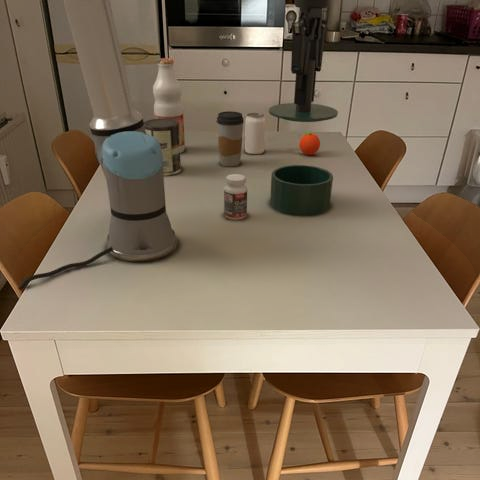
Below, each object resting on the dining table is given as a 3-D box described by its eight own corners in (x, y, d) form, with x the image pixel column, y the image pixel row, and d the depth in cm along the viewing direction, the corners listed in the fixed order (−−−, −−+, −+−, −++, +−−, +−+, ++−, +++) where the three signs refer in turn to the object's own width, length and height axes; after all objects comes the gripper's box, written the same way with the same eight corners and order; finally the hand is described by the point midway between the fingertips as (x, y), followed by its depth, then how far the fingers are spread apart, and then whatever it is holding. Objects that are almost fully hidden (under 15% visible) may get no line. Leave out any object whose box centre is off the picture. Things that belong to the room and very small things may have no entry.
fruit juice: (151, 151, 173) (143, 59, 157) (171, 145, 179) (166, 56, 163) (170, 156, 168) (164, 62, 152) (190, 150, 174) (186, 59, 158)
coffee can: (171, 163, 163) (168, 116, 155) (187, 172, 156) (185, 124, 148) (141, 168, 158) (137, 121, 150) (156, 178, 151) (152, 128, 143)
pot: (323, 219, 128) (327, 188, 123) (263, 211, 132) (264, 181, 127) (333, 197, 140) (337, 168, 136) (278, 190, 144) (279, 162, 139)
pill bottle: (237, 222, 126) (237, 182, 120) (219, 216, 129) (219, 177, 123) (251, 215, 130) (252, 176, 124) (233, 209, 133) (233, 171, 127)
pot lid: (331, 126, 116) (337, 67, 109) (260, 120, 120) (262, 62, 113) (342, 111, 129) (348, 57, 122) (278, 105, 133) (281, 53, 126)
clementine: (291, 154, 172) (293, 132, 168) (301, 149, 177) (303, 128, 173) (312, 159, 168) (315, 136, 164) (322, 153, 173) (324, 132, 169)
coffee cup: (248, 162, 164) (249, 113, 156) (234, 169, 159) (234, 118, 150) (226, 157, 168) (226, 109, 160) (211, 164, 162) (210, 114, 154)
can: (264, 154, 171) (265, 117, 164) (244, 154, 171) (245, 117, 164) (263, 149, 177) (265, 112, 170) (244, 149, 177) (245, 112, 170)
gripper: (311, -13, 102) (301, 111, 115) (345, -14, 114) (332, 98, 127) (278, -14, 105) (272, 106, 119) (314, -15, 117) (305, 95, 130)
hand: (303, 102), depth 123 cm, fingers closed on pot lid, 4 cm apart
